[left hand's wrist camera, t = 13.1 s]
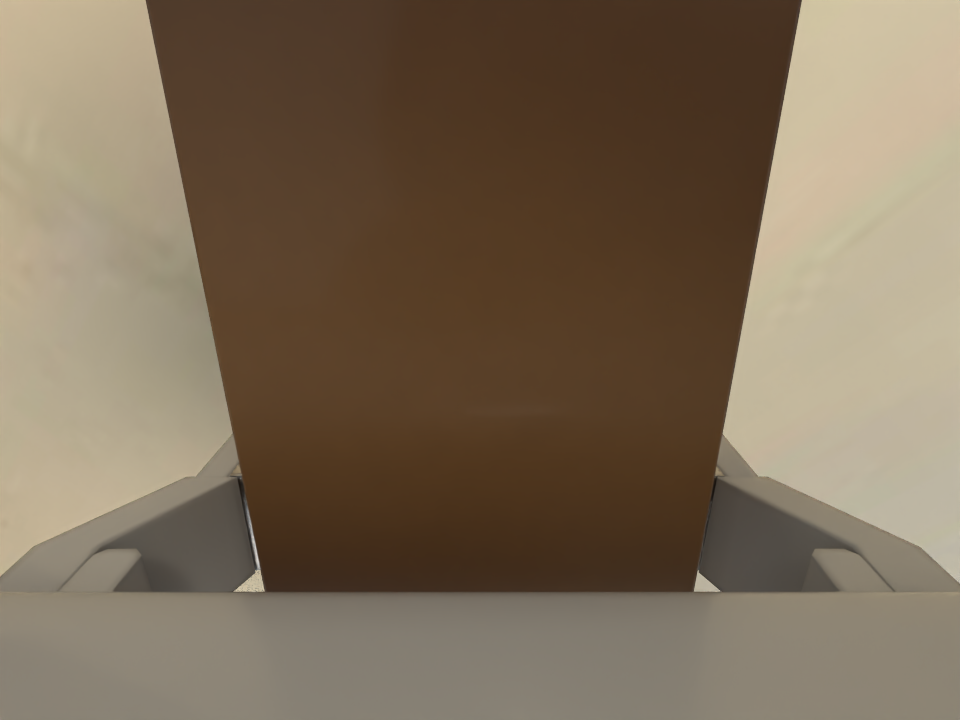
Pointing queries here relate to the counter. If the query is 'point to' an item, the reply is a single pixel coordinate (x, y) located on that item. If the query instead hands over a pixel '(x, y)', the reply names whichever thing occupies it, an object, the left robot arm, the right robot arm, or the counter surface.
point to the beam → (476, 275)
